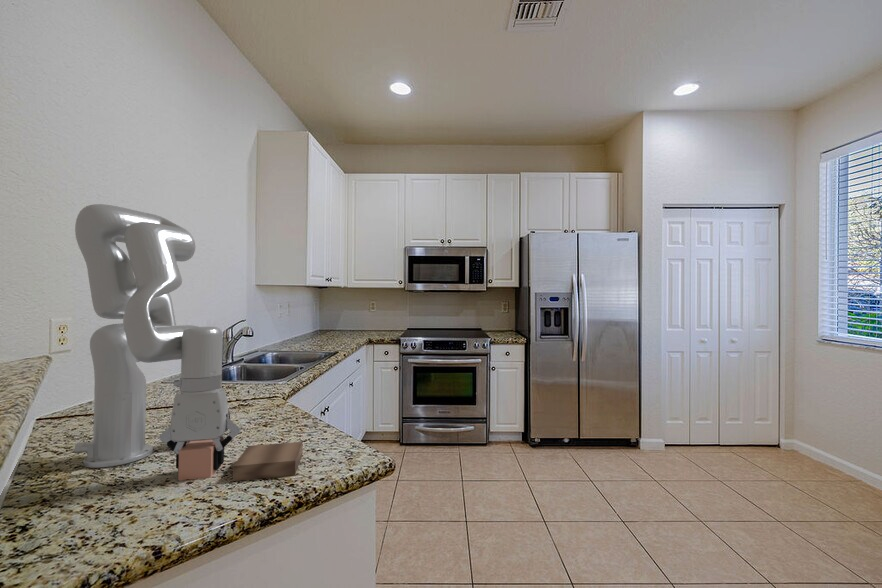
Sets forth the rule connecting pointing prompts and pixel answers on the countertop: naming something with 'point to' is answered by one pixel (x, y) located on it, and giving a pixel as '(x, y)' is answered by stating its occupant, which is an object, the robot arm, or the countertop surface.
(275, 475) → the base
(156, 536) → the countertop surface
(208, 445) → the cube
